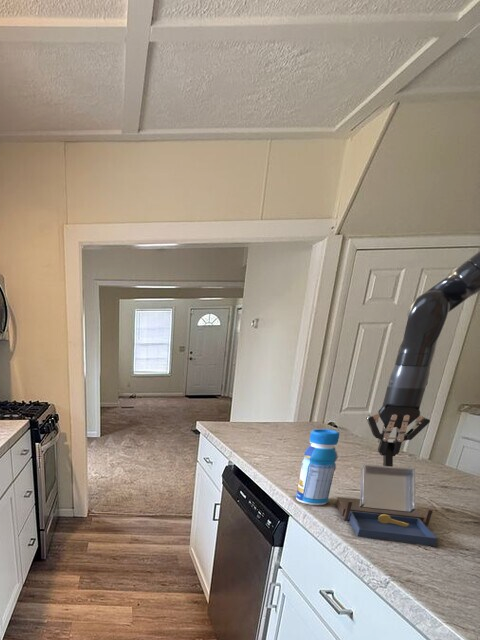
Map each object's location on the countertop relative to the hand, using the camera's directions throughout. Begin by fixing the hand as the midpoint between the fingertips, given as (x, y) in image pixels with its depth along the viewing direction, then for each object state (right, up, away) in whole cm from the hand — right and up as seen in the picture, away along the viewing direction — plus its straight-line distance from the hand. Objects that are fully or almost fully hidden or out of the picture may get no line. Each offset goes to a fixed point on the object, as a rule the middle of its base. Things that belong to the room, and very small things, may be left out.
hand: (387, 454), depth 103 cm
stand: (-2, -16, +1) cm, 16 cm away
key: (-3, -17, -6) cm, 18 cm away
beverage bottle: (-14, -12, +12) cm, 21 cm away
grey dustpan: (-1, -6, -1) cm, 6 cm away
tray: (-5, -19, -7) cm, 21 cm away
